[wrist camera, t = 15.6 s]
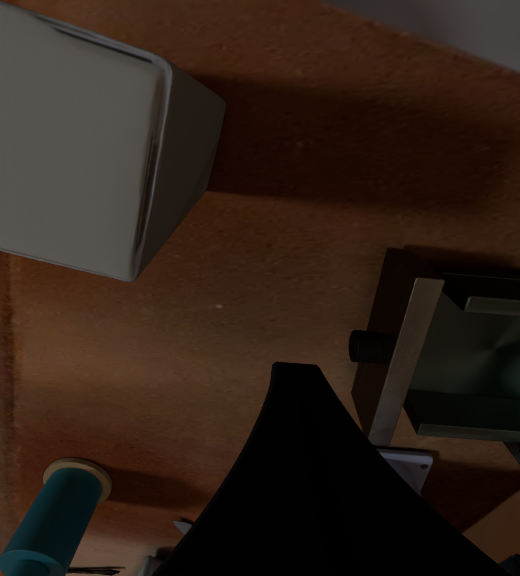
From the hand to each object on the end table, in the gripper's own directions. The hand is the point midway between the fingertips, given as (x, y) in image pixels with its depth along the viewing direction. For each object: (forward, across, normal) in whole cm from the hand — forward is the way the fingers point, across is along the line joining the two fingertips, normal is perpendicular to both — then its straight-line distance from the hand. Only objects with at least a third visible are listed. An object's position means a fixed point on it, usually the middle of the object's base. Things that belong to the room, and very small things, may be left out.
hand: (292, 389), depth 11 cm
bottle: (+9, +14, +18) cm, 25 cm away
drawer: (+8, -10, +3) cm, 13 cm away
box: (+10, +6, -6) cm, 13 cm away
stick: (+8, +15, +30) cm, 35 cm away
